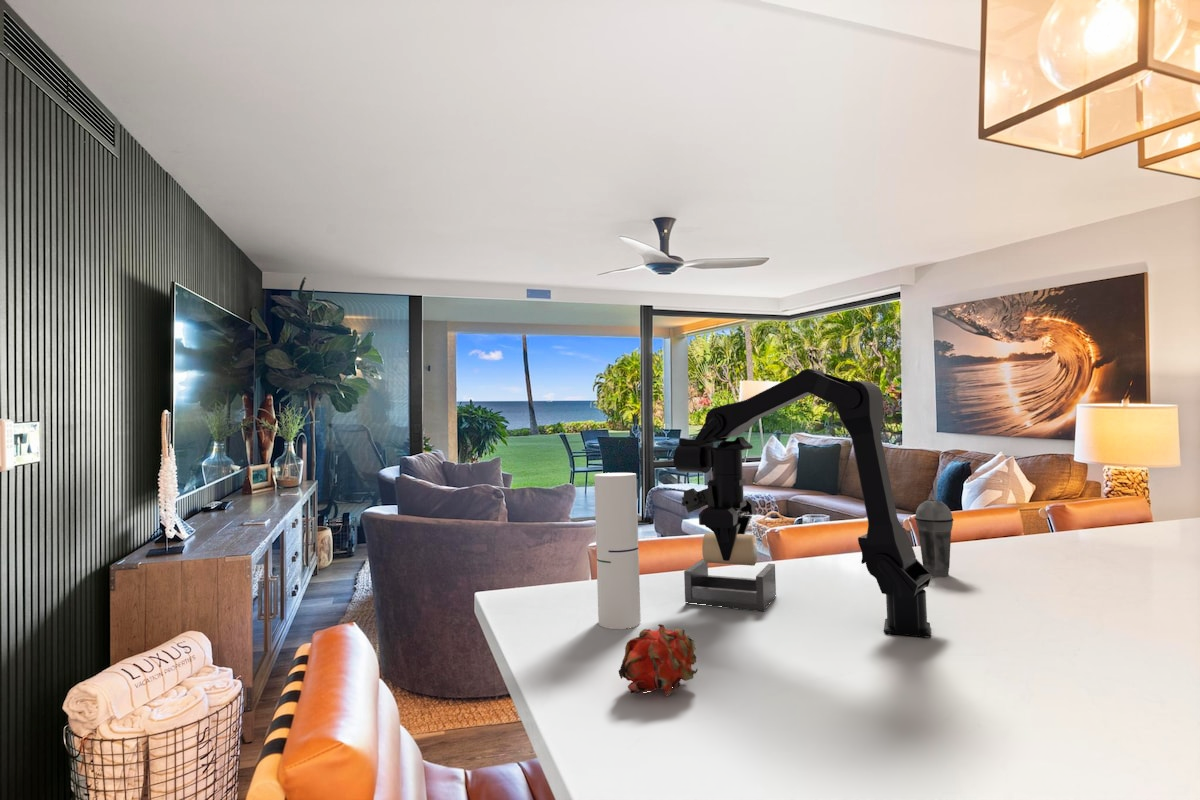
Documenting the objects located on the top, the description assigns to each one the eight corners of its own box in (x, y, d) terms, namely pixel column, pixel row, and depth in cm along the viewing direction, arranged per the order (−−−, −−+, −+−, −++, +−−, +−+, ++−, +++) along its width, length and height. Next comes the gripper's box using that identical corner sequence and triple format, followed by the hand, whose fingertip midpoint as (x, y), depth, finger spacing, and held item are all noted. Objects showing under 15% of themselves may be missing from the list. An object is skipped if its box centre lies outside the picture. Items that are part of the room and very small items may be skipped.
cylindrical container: (637, 629, 108) (632, 475, 109) (594, 628, 109) (590, 476, 110) (643, 617, 115) (639, 472, 116) (603, 615, 116) (598, 472, 117)
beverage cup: (909, 573, 140) (905, 478, 141) (933, 569, 144) (929, 476, 144) (939, 580, 134) (935, 481, 135) (964, 575, 137) (959, 478, 138)
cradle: (776, 595, 126) (774, 564, 126) (764, 611, 116) (762, 576, 116) (702, 589, 132) (701, 559, 132) (685, 603, 122) (684, 571, 122)
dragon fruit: (703, 691, 87) (629, 730, 80) (665, 640, 92) (593, 672, 86) (722, 651, 82) (646, 689, 76) (681, 600, 88) (606, 631, 81)
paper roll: (760, 562, 125) (758, 532, 125) (753, 568, 120) (752, 537, 120) (709, 558, 129) (708, 530, 129) (700, 565, 124) (699, 535, 124)
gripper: (700, 469, 137) (703, 546, 136) (669, 478, 120) (673, 565, 119) (754, 470, 132) (757, 549, 131) (730, 478, 115) (734, 569, 115)
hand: (730, 557), depth 124 cm, fingers closed on paper roll, 6 cm apart
